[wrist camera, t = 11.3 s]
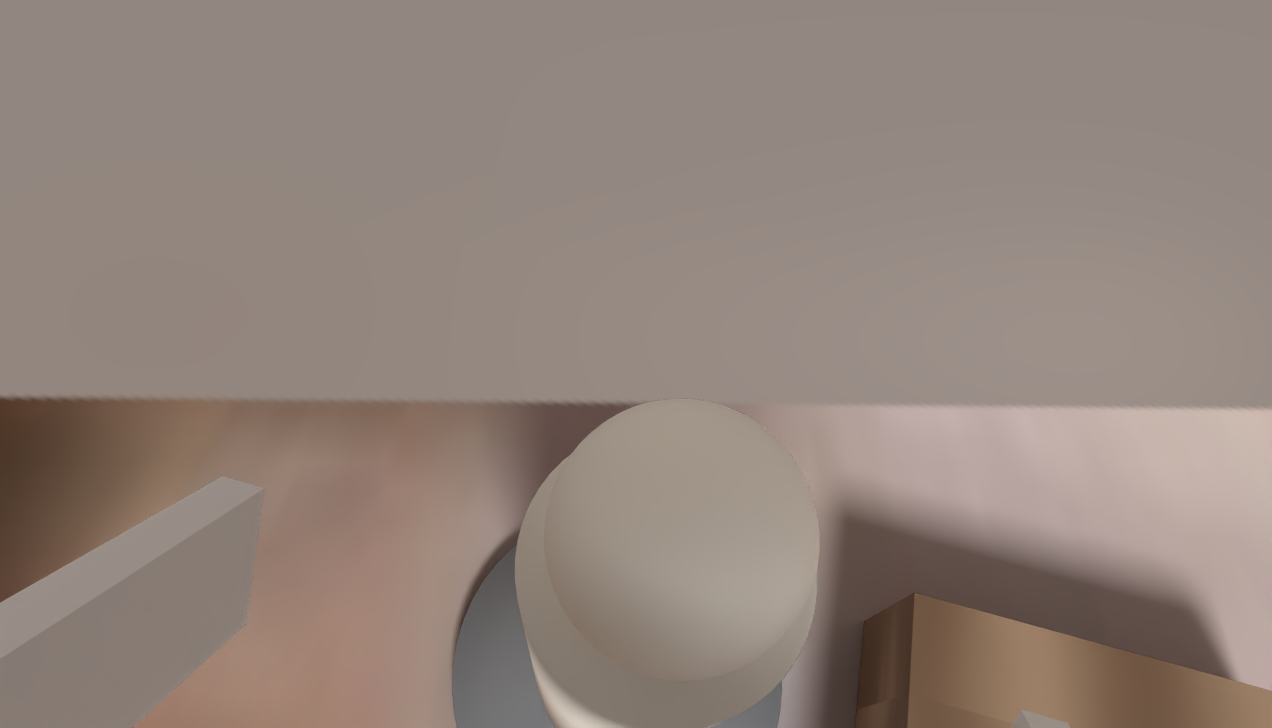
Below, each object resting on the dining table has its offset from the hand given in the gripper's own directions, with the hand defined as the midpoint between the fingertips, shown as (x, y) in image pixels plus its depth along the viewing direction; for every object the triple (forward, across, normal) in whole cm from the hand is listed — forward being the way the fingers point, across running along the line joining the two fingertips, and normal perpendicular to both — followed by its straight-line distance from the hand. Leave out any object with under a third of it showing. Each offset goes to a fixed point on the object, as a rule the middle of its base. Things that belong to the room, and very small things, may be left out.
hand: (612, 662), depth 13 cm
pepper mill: (+9, 0, -6) cm, 11 cm away
